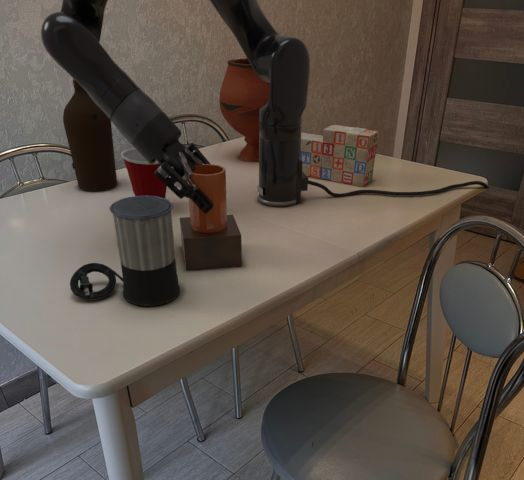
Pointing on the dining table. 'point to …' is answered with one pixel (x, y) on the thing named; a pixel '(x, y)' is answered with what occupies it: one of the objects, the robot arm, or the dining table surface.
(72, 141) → the olive oil
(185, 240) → the walnut block
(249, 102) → the goblet
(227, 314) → the dining table surface
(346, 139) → the stack of blocks
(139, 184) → the plastic cup
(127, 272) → the milk frother
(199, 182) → the terracotta cup
